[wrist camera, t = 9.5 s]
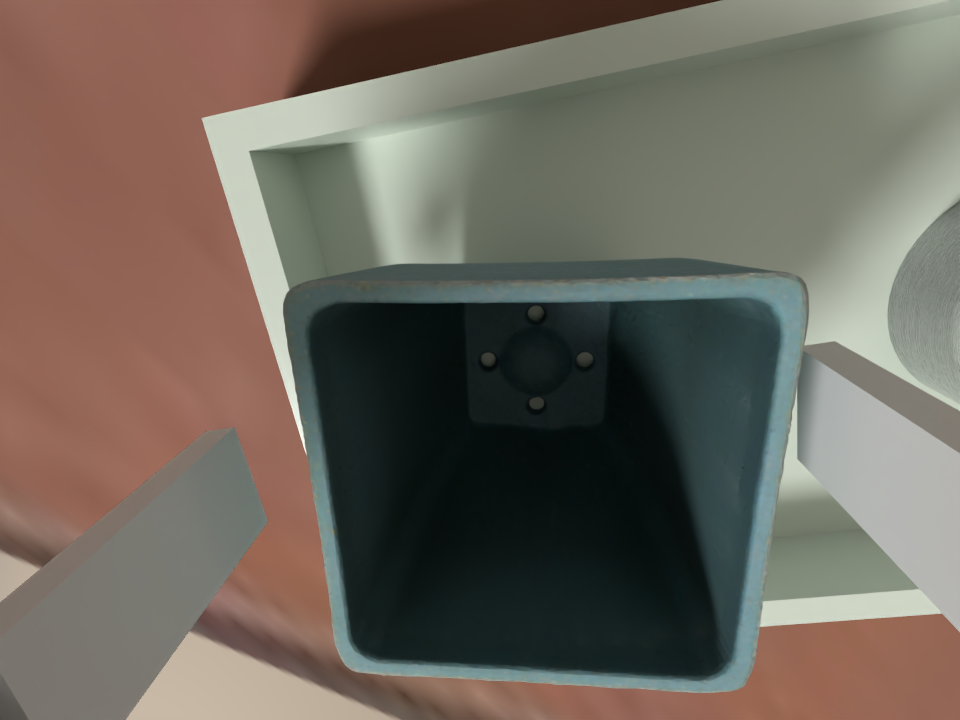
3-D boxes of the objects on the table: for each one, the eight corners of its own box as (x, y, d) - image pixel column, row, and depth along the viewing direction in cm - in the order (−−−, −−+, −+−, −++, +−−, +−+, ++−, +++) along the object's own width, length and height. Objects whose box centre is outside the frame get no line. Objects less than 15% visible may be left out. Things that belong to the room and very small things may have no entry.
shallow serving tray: (394, 577, 23) (368, 655, 20) (270, 129, 18) (201, 118, 14) (1149, 507, 20) (1296, 587, 16) (1277, -91, 14) (1548, -187, 10)
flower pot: (416, 472, 21) (335, 680, 12) (395, 231, 18) (272, 282, 9) (657, 474, 20) (752, 700, 11) (675, 222, 17) (819, 269, 8)
